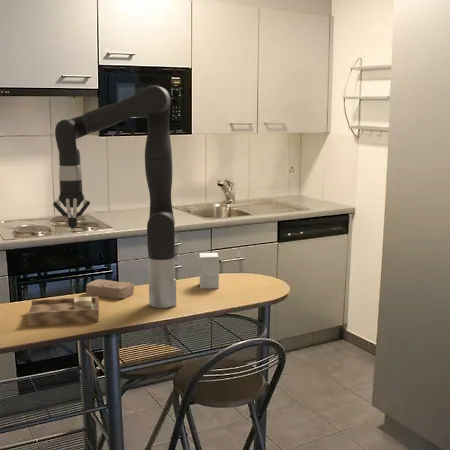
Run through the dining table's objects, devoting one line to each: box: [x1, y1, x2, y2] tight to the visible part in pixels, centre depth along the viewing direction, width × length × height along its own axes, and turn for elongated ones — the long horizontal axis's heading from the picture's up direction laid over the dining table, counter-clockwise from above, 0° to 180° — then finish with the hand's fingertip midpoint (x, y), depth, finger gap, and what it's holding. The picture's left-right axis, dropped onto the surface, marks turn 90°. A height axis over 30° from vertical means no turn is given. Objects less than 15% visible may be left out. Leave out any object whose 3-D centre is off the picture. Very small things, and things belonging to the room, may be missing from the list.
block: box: [73, 296, 93, 310], centre depth 203 cm, size 6×4×3 cm
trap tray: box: [26, 296, 100, 327], centre depth 202 cm, size 22×14×4 cm, turn 101°
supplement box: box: [198, 252, 220, 290], centre depth 238 cm, size 7×7×13 cm
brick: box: [85, 278, 135, 300], centre depth 228 cm, size 17×8×5 cm, turn 65°
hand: (72, 228), depth 213 cm, fingers closed
